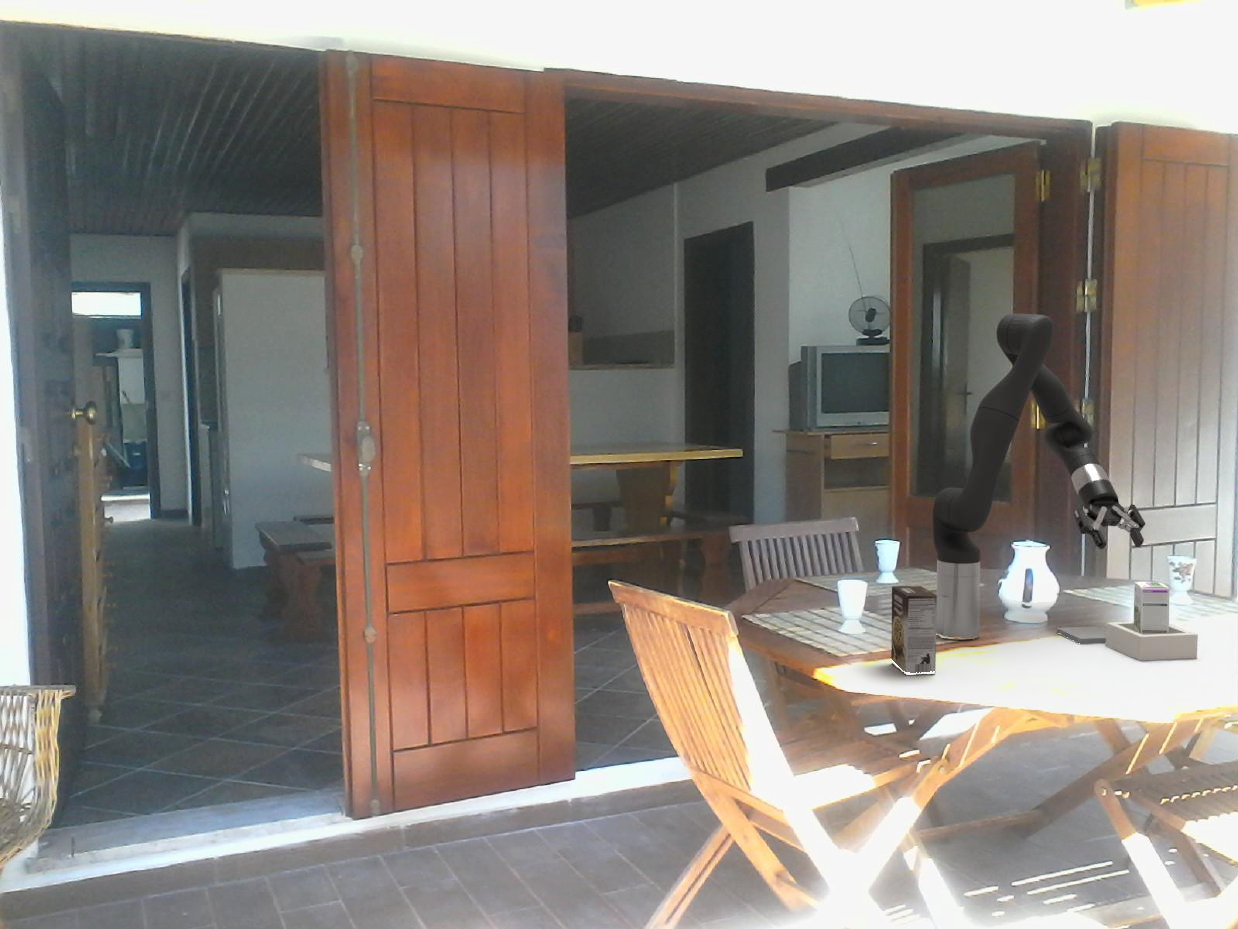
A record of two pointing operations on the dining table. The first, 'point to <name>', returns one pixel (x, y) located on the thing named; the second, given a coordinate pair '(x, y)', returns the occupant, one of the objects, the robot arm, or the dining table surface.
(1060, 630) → the tile
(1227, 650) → the dining table surface
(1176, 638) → the open rectangular tray
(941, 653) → the dining table surface
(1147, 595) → the syrup box
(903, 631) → the coffee box
